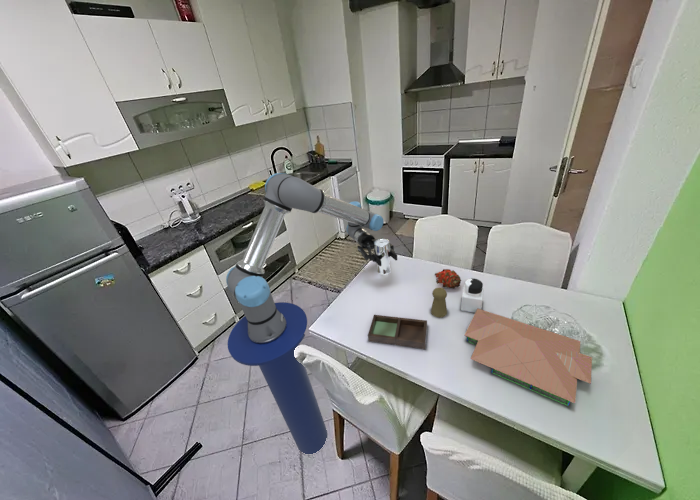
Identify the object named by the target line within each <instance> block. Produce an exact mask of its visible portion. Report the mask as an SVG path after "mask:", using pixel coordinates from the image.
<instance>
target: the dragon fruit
mask: <svg viewBox="0 0 700 500" xmlns="http://www.w3.org/2000/svg"><path fill="white" fill-rule="evenodd" d="M434 276H435V278H436V281H435V282H436V284H437V285H438V284H442V288H443V289H445V288H446V289H455V288H459V287H461V282H462V279H461V276H460V275H459V274H458V273H457V272H456V271H455V270H454V269H452V270H451V269H449V268H446V269H445V268H443V269H442V270H440V271H438V272H435V273H434Z"/></svg>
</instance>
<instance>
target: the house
mask: <svg viewBox="0 0 700 500" xmlns="http://www.w3.org/2000/svg"><path fill="white" fill-rule="evenodd" d="M464 337H466V342H469V343H470V344H473V345H475V347H474V350H473V351H472V355H471V357H470V360H472V361H475V362H476V363H479V364H481V365H483V366H486V367H488V368H491V373H492V374H494V375H496V376H498V377H500V378H503V379H505V380H506V381H507V380H508V381H510V382H512V383H514V384H516V385H518V386H521V387H523V388H525V389H527V390H530V391H533V392H535V393H537V394H539V395H541V396H544V397H546V398H549V399H551V400H553V401H556V402H558V403H560V404H563V405H565V406H567V407H569V405H570V403H573V404H576V397H577V389H578V388H577V387H578V386H577V385H578V380H580V381H582V382H584V383H588V384H592V367H593V357H592V356H590V355H587V354H584V353H581V341H580V340H578V339H576V338H575V339H574V338H572V337H569V336H566V335H562V334H559V333H556V332H552V331H550V330H547V329H543V328H540V327H537V326H534V325H531V324H529V323H525V322H522V321H518V320H515V319H512V318H509V317H506V316H503V315H500V314H497V313H494V312H490V311H487V310H484V309H478V308H477V310H476V312H475V313H474V314H473V317H472V318H471V321H470V323H469V324H468V327H467V329H466V331H465V333H464ZM469 340H470V341H469ZM471 340H472V342H471ZM473 341H474V342H473ZM475 342H476V343H475ZM494 371H495V372H494ZM497 372H498V373H497ZM499 373H500V374H501V375H499ZM502 375H504V376H502ZM505 376H507V377H505ZM508 378H509V379H508ZM511 378H512V379H513V380H511ZM514 380H516V381H515V382H514ZM518 381H519V382H520V383H518ZM521 383H523V384H521ZM524 384H526V386H525V385H524ZM527 386H528V387H527ZM532 388H534V390H533V389H532ZM536 389H537V391H535V390H536ZM539 390H540V391H541V392H539ZM542 391H543V392H544V394H542ZM546 393H547V395H545V394H546ZM549 395H551V396H549ZM553 396H554V397H555V398H559V399H558V400H557V399H555V398H553ZM560 399H561V400H562V401H565V402H564V403H563V402H561V401H560ZM566 403H567V404H566Z"/></svg>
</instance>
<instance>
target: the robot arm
mask: <svg viewBox="0 0 700 500" xmlns="http://www.w3.org/2000/svg"><path fill="white" fill-rule="evenodd" d="M264 190H265V194H264V197H263V204H264V208H263V210H262V212H261V215H260V217H259V219H258V222H257V224H256V226H255V229H254V231H253V234H252V236H251V238H250V241H249V243H248V246H247V248H246V250H245V252H244V255H243V257H242V259H240V260H238V261H237V262H236V264H235V265H234V267H231V268H230V269H229V270H228V272H227V274H226V278H225V282H226V286H227V288H228V290H229V291H230V293H231V294H232V295H233V297H234V299H235V300H236V301H237V303H238V304H239V305H240V308H241V311H242V312H243V314H244V316H245V317H246V319H247V321H248V335H249V338H250V340H251V341H252V342H254V343H256V344H267V343H270V342H272V341H274V340H276V339H278V338H279V337H280V336H281V335H282V334H283V333H284V331H285V330H286V326H287V323H286V320H285V318H284V316H283V314H282V313H280V312H279V311H278V310H277V308H276V306H275V303H276V302H275V300H274V298H273V295H272V292H271V289H270V285H269V283H268V282H267V280H266V279H265V278H263V277H264V275H265V272H266V271H265V268H264V265H265V263H266V261H267V258H268V256H269V253H270V251H271V249H272V246H273V244H274V242H275V239H276V237H277V235H278V233H279V230H280V228H281V226H282V224H283V221H284V219H285V216H286V215H288V214H290V213H292V211H293V209H294V210H299V211H304V212H307V213H312V214H318V213H319V214H320V213H321V214H324V215H327V216H330V217H333V218H337V219H339V220H342V221H345V222H347V224H346V225H347V226H346V233H347V234H348V235H349V237H350V238H352V239H353V240H354V241H355V242H356V243H357V244H358V245H357V246H356V247H357V252H359V253H360V254H361V256H362V257H363V259H364V260H365V261H368V260H369V261H370V262H373V263H376V264H378V265H379V266H382V264H381V260H380V259H379V258H378V257H377V256H376V255H375V253H372V250H374V242H375V241H376V240H378V239H377V238H375V236H374V235H373V234H372V233H370V232H369V231H368V230H367V229H369V230H370V231H374V232H378V231H380V230H381V229H382V228H383V226H384V221H385V220H384V217H383V216H382V215H380V214H378V213H375V212H372V211H369V210H367V209H365V208H362V205H361V203H360V202H359V201H349V202H348V201H345V200H342V199H340V198H336V197H335V196H331V195H329V194H326V193H325V191H324V190H323V189H321V188H318V186H317V187H316V186H314V185H313V184H311V183H310V182H307V181H306V180H304V179H302V178H300V177H297V176H295V175H291V174H288V173H286V172H276V173H273V174H272V175H270V176H269V177H268V178H267V180H266V181H265V184H264ZM380 239H384V237H381V238H380ZM366 250H367V252H366ZM390 250H391V255H390V258H392V259H393V260H394V261H398V254H397V253H396V251H395V247H394V245H393V244H392V243H390ZM378 265H377V266H378Z"/></svg>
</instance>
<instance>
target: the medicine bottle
mask: <svg viewBox="0 0 700 500" xmlns="http://www.w3.org/2000/svg"><path fill="white" fill-rule="evenodd" d="M464 282H465V283H464V285H463V288H462V294H461V302H460V310H461V311H463V312H469V313H474V314H475V312H476V310H477V308H478V309H481V310H483V309H482V307H483V302H484V291H485V290H484V289H485V288H483V286H484V283H483V282H482V280H480V279H478V278H473V277H471V278H468V279H465V281H464Z"/></svg>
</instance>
